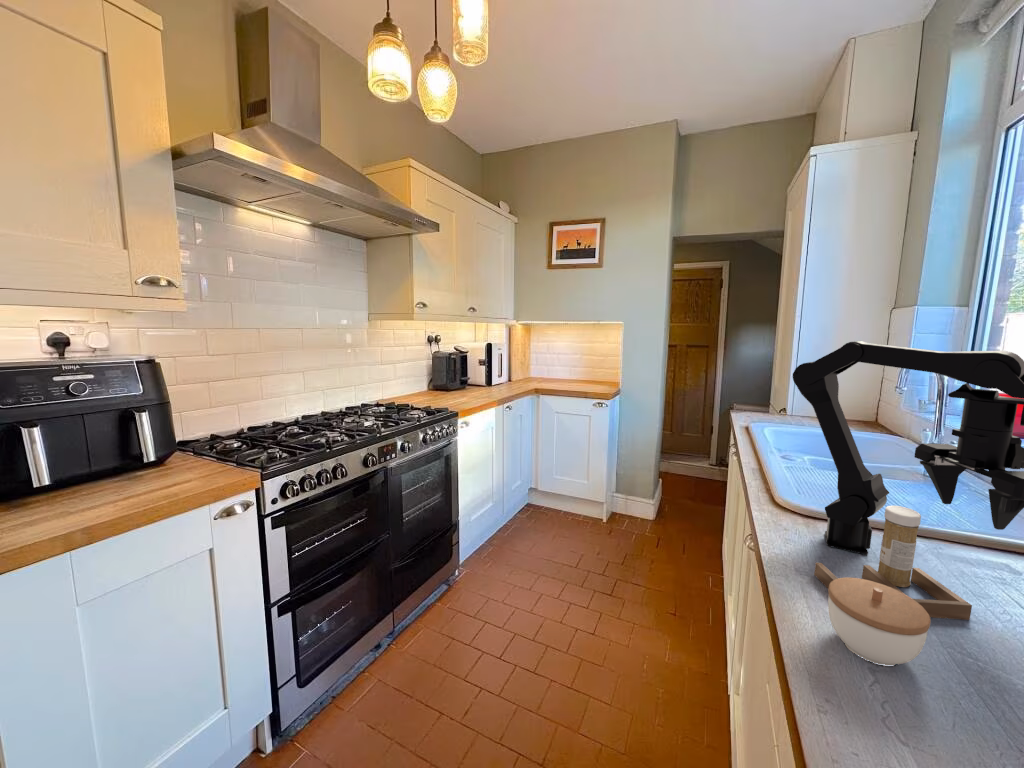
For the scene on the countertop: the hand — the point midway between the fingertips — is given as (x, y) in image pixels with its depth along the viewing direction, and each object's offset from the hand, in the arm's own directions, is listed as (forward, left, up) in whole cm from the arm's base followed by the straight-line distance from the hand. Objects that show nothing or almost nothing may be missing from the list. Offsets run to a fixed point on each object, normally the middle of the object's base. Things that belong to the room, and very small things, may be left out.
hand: (971, 515), depth 71 cm
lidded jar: (-15, -27, -13) cm, 34 cm away
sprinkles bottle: (-9, -5, -13) cm, 17 cm away
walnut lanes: (-11, -11, -13) cm, 20 cm away
